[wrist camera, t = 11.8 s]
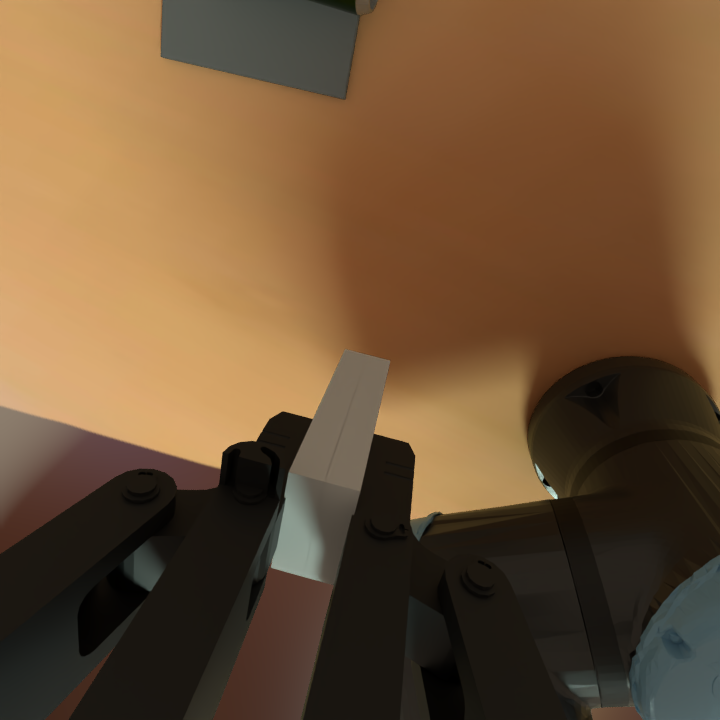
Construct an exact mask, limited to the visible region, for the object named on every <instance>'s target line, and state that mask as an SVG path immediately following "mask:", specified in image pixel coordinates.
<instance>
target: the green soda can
mask: <svg viewBox="0 0 720 720" xmlns="http://www.w3.org/2000/svg"><path fill="white" fill-rule="evenodd" d="M309 1H312V2H316V3H319V4H322V5H325V6H329V7H332V8H335V9H339V10H342V11H345V12H348V13H352V14H355V15H358V16H359V15H364V14H369V13H372V12H373V11H374V9H375V7H376V5H377V2H378V0H309Z"/></svg>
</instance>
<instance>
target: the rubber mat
mask: <svg viewBox="0 0 720 720" xmlns="http://www.w3.org/2000/svg"><path fill="white" fill-rule="evenodd" d="M359 18H360V15H359V16H358V15H355V14H352V13H348V12H345V11H342V10H339V9H335V8H332V7H329V6H325V5H322V4H319V3H316V2H312V1H309V0H163V5H162V36H161V57H163V58H167V59H171V60H175V61H180V62H184V63H188V64H193V65H197V66H201V67H206V68H210V69H214V70H219V71H223V72H227V73H232V74H236V75H241V76H245V77H249V78H254V79H258V80H262V81H267V82H271V83H275V84H280V85H284V86H288V87H293V88H297V89H301V90H306V91H310V92H314V93H319V94H323V95H327V96H332V97H336V98H341V99H346V93H347V87H348V82H349V76H350V70H351V64H352V59H353V53H354V47H355V41H356V36H357V30H358V24H359Z"/></svg>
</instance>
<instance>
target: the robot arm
mask: <svg viewBox="0 0 720 720" xmlns="http://www.w3.org/2000/svg"><path fill="white" fill-rule="evenodd" d="M389 365H390V360H386V359H382V358H378V357H374V356H371V355H367V354H363V353H359V352H355V351H351V350H347V349H345V350H344V353H343V355H342V357H341V359H340V361H339V364H338V366H337V368H336V370H335V372H334V374H333V377H332V379H331V381H330V383H329V385H328V388H327V390H326V392H325V394H324V396H323V398H322V401H321V403H320V405H319V407H318V409H317V411H316V414H315V416H314V418H313V419H310V418H306V417H302V416H299V415H295V414H291V413H287V412H281V413H279V414H277V415H276V416H274V417H272V418H271V419H269V421H268V423H267V424H266V426H265V427H264V429H263V432H261V434H260V436H259V437H258V439H257V441H256V442H255V441H248V442H239V443H237V444H234V445H231V446H229V447H228V448H227V449H226V450H225V451H224V452H223V455H222V464H221V474H220V482H219V485H218V487H217V488H212V489H208V490H177V486H176V484H175V481H174V479H173V478H172V477H170V476H169V475H168V474H166V473H165V472H161V471H158V470H155V469H137V470H132V471H127V472H125V473H123V474H121V475H119V476H116V477H115V478H113V479H112V480H110V481H109V482H107V483H106V484H104V485H103V486H101V487H100V488H98V489H97V490H95V491H94V492H92V493H91V494H89V495H88V496H86V497H85V498H84V499H82V500H81V501H79V502H77V503H76V504H74V505H73V506H71V507H70V508H69V509H67V510H65V511H64V512H63V513H61V514H60V515H58V516H56V517H55V518H53V519H52V520H51V521H49V522H47V523H46V524H45V525H43V526H42V527H40V528H39V529H37V530H36V531H34V532H33V533H31V534H30V535H28V536H27V537H25V538H24V539H22V540H21V541H19V542H18V543H16V544H15V545H13V546H12V547H10V548H9V549H7V550H6V551H4V552H3V553H1V554H0V720H45V719H46V718H47V717H48V716H49V715H50V714H51V713H52V712H53V711H54V710H55V708H56V707H57V706H58V705H59V704H60V703H61V702H62V701H63V700H64V699H65V698H66V697H67V696H68V695H69V694H70V693H71V692H72V691H73V690H74V689H75V688H76V687H77V686H78V685H79V684H80V683H81V681H82V680H83V679H84V678H85V677H86V676H87V675H88V674H89V673H90V672H91V671H92V670H93V669H94V668H95V667H96V666H97V665H98V664H99V663H100V662H101V661H102V660H103V659H104V658H105V657H106V655H107V654H108V653H109V652H110V651H111V650H112V649H113V648H114V647H115V648H114V649H113V651H112V653H111V654H110V656H109V657H108V659H107V661H106V662H105V664H104V665H103V667H102V668H101V670H100V671H99V673H98V674H97V676H96V678H95V679H94V681H93V682H92V684H91V685H90V687H89V689H88V690H87V692H86V693H85V695H84V697H83V698H82V700H81V701H80V703H79V704H78V706H77V707H76V709H75V710H74V712H73V714H72V715H71V717H70V718H69V720H213V717H214V715H215V712H216V709H217V707H218V705H219V702H220V700H221V697H222V694H223V692H224V689H225V687H226V684H227V682H228V679H229V676H230V674H231V671H232V669H233V666H234V664H235V661H236V658H237V656H238V654H239V651H240V648H241V646H242V643H243V641H244V638H245V636H246V633H247V631H248V628H249V625H250V623H251V620H252V618H253V615H254V613H255V610H256V608H257V605H258V602H259V600H260V597H261V594H262V592H263V590H264V586H265V580H266V575H267V571H268V568H269V566H270V563H271V561H272V566H271V568H274V569H278V570H281V571H285V572H288V573H292V574H296V575H300V576H303V577H306V578H310V579H314V580H317V581H321V582H325V583H328V584H331V585H334V587H333V591H332V595H331V599H330V602H329V606H328V610H327V614H326V618H325V621H324V626H323V630H322V635H321V639H320V643H319V647H318V651H317V655H316V659H315V663H314V668H313V671H312V676H311V679H310V684H309V688H308V692H307V696H306V700H305V704H304V708H303V712H302V716H301V720H593V719H592V715H591V709H592V708H600V707H602V708H603V707H623V706H628V707H630V706H635V708H636V711H637V712H638V713H639V714H640V715H641V717H642V718H643V720H720V411H719V409H718V407H717V405H716V404H715V402H714V401H713V399H712V398H711V396H710V395H709V394H708V393H707V392H706V391H705V390H704V389H703V388H702V387H701V386H700V385H699V384H698V383H697V382H696V381H695V380H694V379H693V378H692V377H690V376H689V375H688V374H687V373H685V372H684V371H682V370H680V369H679V368H677V367H675V366H673V365H670V364H668V363H665V362H663V361H659V360H656V359H651V358H645V357H615V358H609V359H604V360H600V361H596V362H593V363H590V364H587V365H585V366H582V367H580V368H578V369H576V370H574V371H572V372H571V373H569V374H567V375H566V376H564V377H563V378H561V379H560V380H559V381H558V382H556V383H555V384H554V385H553V386H552V387H551V388H550V389H549V390H548V391H547V392H546V393H545V394H544V396H543V397H542V398H541V400H540V401H539V403H538V404H537V406H536V408H535V410H534V412H533V414H532V417H531V420H530V424H529V429H528V447H529V452H530V456H531V459H532V463H533V466H534V469H535V472H536V474H537V476H538V478H539V480H540V481H541V483H542V484H543V486H544V487H545V489H546V490H547V491H548V492H549V493H550V494H551V495H552V496H553V497H554V498H555V499H552V500H549V499H548V500H542V501H535V502H529V503H522V504H516V505H509V506H503V507H496V508H488V509H481V510H473V511H466V512H458V513H451V514H442V513H441V512H434V513H431V514H429V515H428V516H427V517H423V518H418V519H413V520H410V514H411V502H412V490H413V478H414V466H415V455H414V453H413V451H412V449H411V447H410V445H409V443H406V442H403V441H399V440H395V439H391V438H387V437H384V436H380V435H376V434H374V430H375V426H376V421H377V417H378V413H379V408H380V404H381V400H382V395H383V391H384V387H385V382H386V378H387V374H388V369H389ZM272 558H273V560H272Z"/></svg>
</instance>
